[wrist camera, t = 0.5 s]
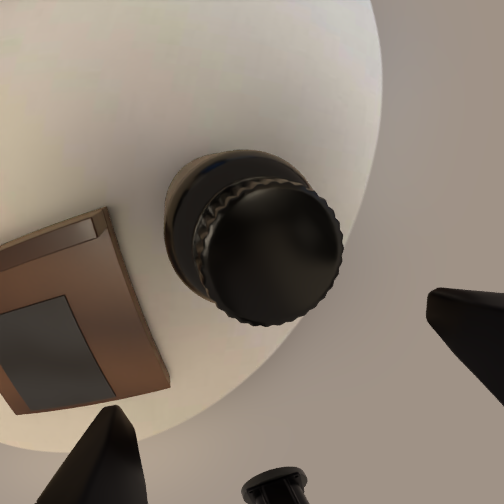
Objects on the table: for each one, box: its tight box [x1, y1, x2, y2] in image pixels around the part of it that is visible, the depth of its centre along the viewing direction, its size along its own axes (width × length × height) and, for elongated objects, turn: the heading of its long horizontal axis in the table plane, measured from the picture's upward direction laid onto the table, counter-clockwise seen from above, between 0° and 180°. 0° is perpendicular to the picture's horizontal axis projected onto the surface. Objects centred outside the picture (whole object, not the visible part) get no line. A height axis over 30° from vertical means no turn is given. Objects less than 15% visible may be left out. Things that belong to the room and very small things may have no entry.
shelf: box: [0, 206, 170, 415], centre depth 17 cm, size 14×16×4 cm
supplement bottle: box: [164, 150, 344, 327], centre depth 15 cm, size 7×7×12 cm
